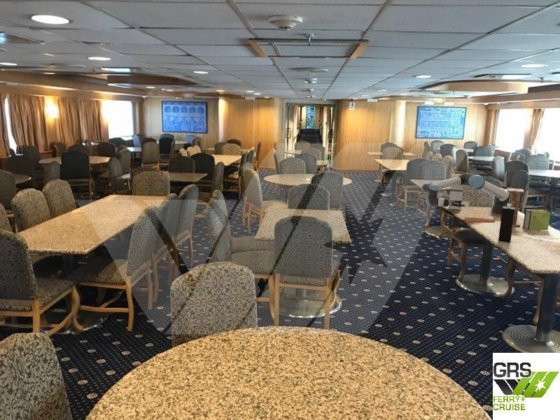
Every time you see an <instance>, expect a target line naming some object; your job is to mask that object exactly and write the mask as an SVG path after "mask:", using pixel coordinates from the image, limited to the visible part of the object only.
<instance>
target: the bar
mask: <svg viewBox="0 0 560 420" xmlns="http://www.w3.org/2000/svg"><path fill="white" fill-rule="evenodd" d="M464 221H466V222H481V223H495V218H493V217H492V218H491V217H490V218H489V217H471V216H470V217H468V216H467V217H466V216H465V217H464Z"/></svg>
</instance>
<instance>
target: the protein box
mask: <svg viewBox="0 0 560 420" xmlns="http://www.w3.org/2000/svg"><path fill="white" fill-rule="evenodd" d="M550 216H551V212H550V211H549V210H544V209H525V210H524V216H523V224H522V228H524V229H525V230H528V231H540V232H541V230H548V231H549V225H550V218H551V217H550Z"/></svg>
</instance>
